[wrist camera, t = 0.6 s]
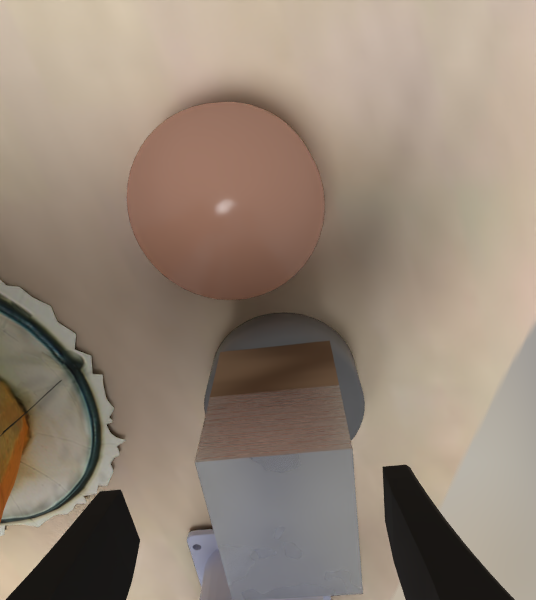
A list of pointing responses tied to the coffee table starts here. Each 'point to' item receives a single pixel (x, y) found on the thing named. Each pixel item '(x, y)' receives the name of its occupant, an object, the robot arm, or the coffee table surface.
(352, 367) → the stand
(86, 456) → the decorative vase
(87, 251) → the coffee table surface
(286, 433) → the housing
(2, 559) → the coffee table surface
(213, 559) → the robot arm
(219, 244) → the stand
